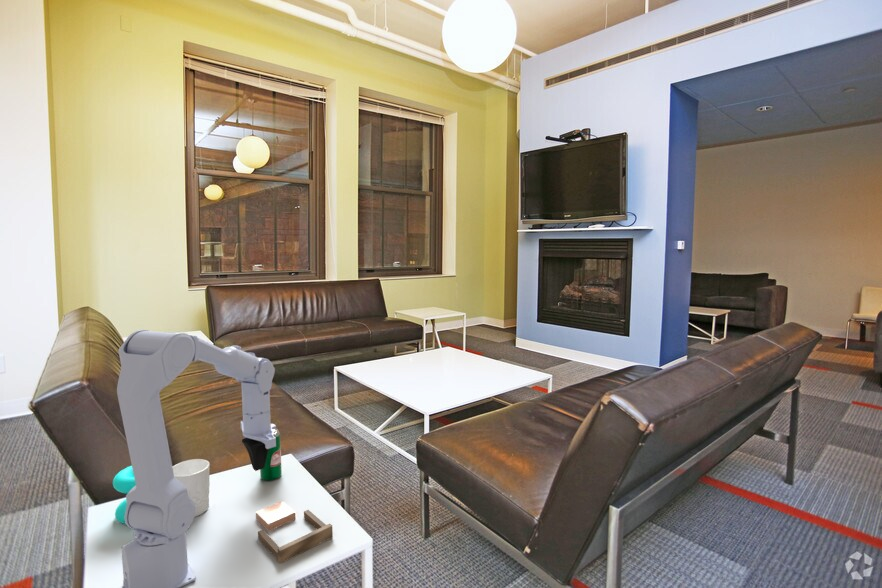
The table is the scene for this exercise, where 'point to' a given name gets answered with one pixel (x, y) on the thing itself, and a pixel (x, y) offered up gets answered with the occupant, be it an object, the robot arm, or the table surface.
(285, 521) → the peach block
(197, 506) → the white cup
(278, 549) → the wooden u-shaped frame
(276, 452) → the soda can
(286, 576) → the table surface
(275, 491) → the table surface
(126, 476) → the donuts
